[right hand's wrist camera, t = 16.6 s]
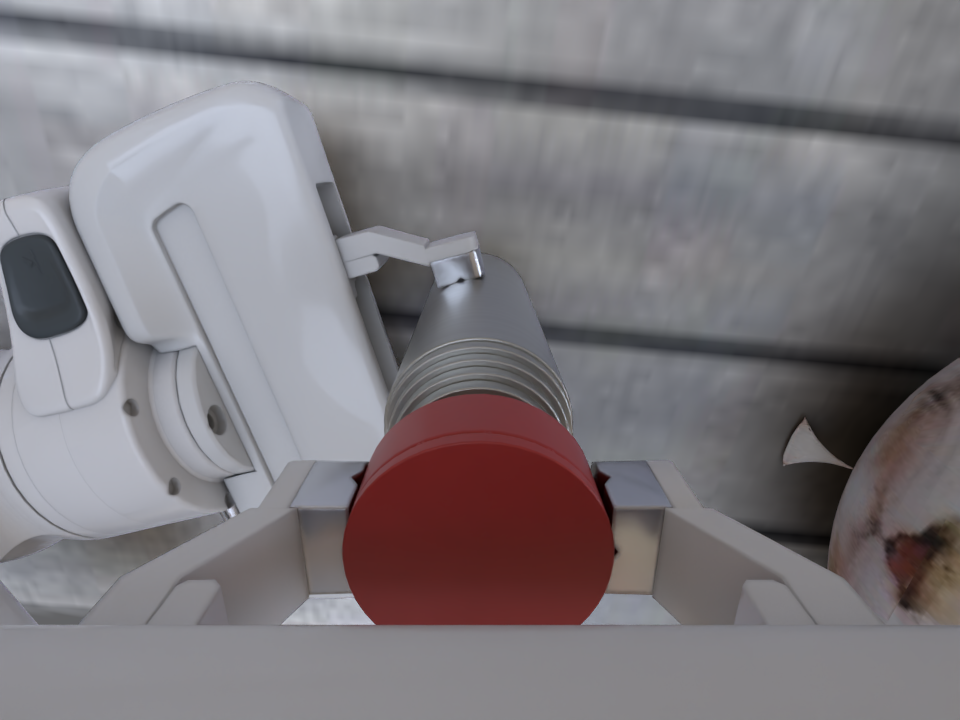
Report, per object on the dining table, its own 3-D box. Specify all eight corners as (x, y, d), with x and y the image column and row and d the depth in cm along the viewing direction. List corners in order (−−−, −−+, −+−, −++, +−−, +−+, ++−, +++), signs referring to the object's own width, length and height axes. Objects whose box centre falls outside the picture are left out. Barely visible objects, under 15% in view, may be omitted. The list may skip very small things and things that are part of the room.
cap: (435, 347, 9) (425, 389, 7) (637, 462, 10) (671, 523, 8) (326, 527, 10) (295, 598, 9) (513, 615, 11) (519, 697, 10)
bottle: (541, 272, 25) (663, 470, 8) (506, 360, 26) (553, 671, 10) (447, 238, 24) (384, 380, 8) (417, 330, 26) (312, 608, 9)
